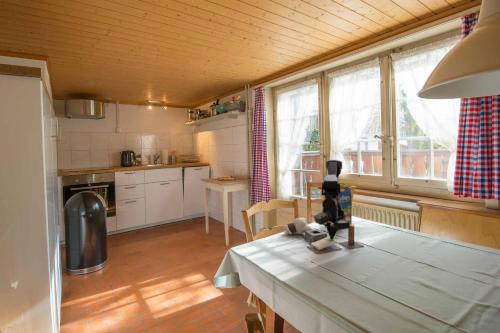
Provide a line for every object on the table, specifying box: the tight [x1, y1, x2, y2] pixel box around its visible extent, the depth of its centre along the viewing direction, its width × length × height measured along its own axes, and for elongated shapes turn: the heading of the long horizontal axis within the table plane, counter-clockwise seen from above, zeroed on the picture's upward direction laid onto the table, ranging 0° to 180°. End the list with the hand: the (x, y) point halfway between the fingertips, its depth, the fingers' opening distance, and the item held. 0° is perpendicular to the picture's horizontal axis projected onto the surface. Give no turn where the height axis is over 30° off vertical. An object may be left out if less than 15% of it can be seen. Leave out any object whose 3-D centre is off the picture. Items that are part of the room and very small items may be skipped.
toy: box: [282, 217, 314, 236], centre depth 141 cm, size 13×9×15 cm
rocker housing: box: [306, 244, 343, 255], centre depth 120 cm, size 13×9×2 cm
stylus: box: [347, 224, 355, 245], centre depth 123 cm, size 3×3×9 cm
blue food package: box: [339, 182, 353, 224], centre depth 159 cm, size 6×12×25 cm, turn 106°
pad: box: [338, 240, 365, 250], centre depth 123 cm, size 8×8×1 cm
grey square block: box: [304, 228, 328, 243], centre depth 131 cm, size 8×8×4 cm
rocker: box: [310, 236, 338, 250], centre depth 120 cm, size 10×6×1 cm, turn 110°
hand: (331, 239), depth 122 cm, fingers closed, pressing on rocker
